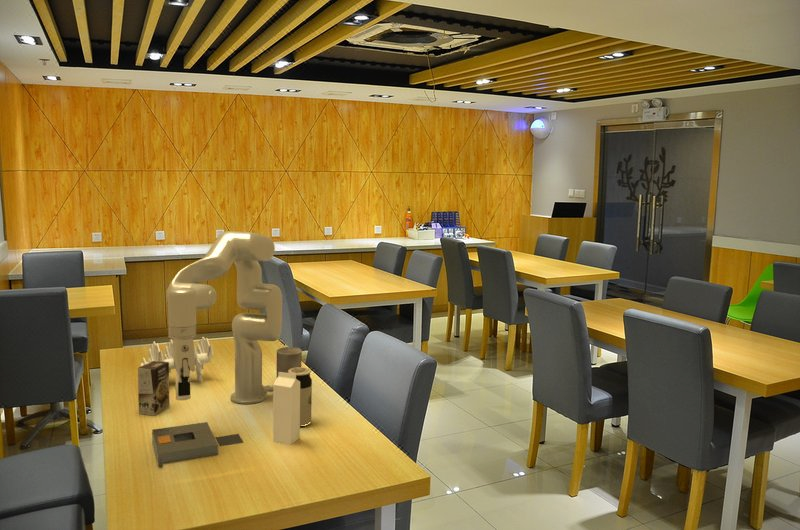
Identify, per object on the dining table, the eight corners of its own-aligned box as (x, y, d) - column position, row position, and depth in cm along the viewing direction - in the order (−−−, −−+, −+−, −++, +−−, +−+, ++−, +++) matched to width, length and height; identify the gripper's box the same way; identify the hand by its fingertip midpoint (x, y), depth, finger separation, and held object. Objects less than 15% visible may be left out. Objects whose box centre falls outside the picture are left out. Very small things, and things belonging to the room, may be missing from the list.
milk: (282, 437, 195) (283, 368, 192) (300, 440, 193) (300, 371, 191) (272, 444, 190) (273, 374, 187) (290, 448, 188) (291, 376, 185)
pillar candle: (279, 379, 250) (279, 343, 248) (303, 380, 250) (303, 344, 247) (273, 388, 240) (273, 350, 238) (299, 389, 240) (299, 351, 238)
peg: (189, 395, 184) (189, 362, 183) (191, 399, 181) (191, 365, 179) (175, 396, 183) (174, 363, 181) (176, 401, 179) (176, 367, 178)
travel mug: (282, 425, 204) (282, 372, 202) (294, 417, 212) (294, 365, 209) (303, 429, 202) (304, 375, 199) (315, 421, 209) (316, 368, 207)
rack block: (207, 434, 196) (207, 421, 195) (217, 457, 180) (217, 443, 179) (152, 442, 188) (152, 429, 188) (158, 467, 173) (158, 453, 172)
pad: (238, 436, 194) (238, 433, 194) (243, 445, 188) (243, 442, 188) (215, 440, 191) (215, 437, 191) (219, 449, 185) (219, 446, 185)
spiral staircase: (141, 395, 238) (207, 383, 251) (148, 389, 224) (218, 376, 237) (134, 349, 242) (200, 338, 255) (140, 339, 227) (209, 329, 240)
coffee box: (155, 416, 209) (154, 369, 206) (138, 414, 210) (136, 367, 208) (170, 406, 218) (169, 361, 215) (153, 404, 219) (152, 359, 217)
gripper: (200, 336, 173) (201, 400, 176) (191, 323, 188) (192, 382, 190) (172, 338, 170) (172, 403, 172) (165, 325, 185) (166, 385, 187)
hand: (183, 392), depth 181 cm, fingers closed on peg, 4 cm apart
